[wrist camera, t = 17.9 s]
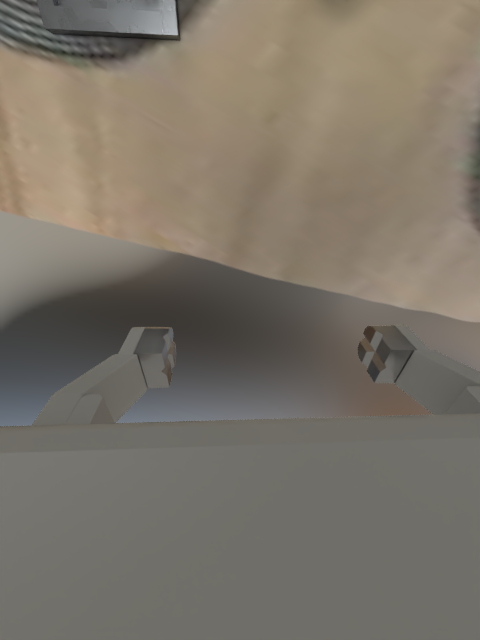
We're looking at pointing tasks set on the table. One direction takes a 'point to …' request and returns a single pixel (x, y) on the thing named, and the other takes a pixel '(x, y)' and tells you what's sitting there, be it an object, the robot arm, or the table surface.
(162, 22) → the tray
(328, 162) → the table surface
